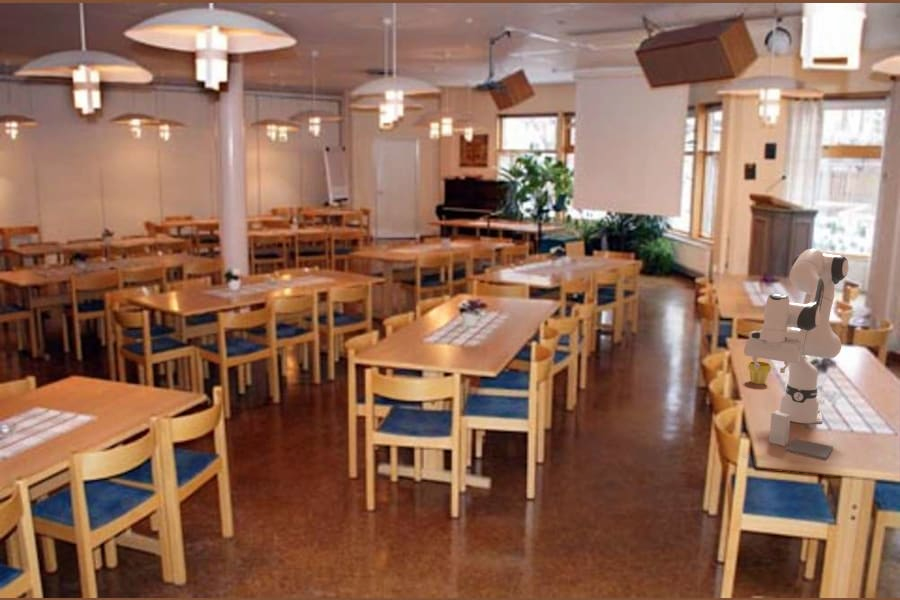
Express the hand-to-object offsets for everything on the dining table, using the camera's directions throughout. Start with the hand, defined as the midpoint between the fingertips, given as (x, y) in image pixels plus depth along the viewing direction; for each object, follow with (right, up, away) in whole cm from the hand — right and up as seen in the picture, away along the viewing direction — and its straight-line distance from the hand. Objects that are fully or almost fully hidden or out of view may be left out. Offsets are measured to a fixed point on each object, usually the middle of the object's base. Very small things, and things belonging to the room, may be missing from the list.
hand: (769, 370), depth 305 cm
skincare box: (+4, -29, +1) cm, 29 cm away
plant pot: (+28, -14, +82) cm, 88 cm away
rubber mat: (+13, -30, -5) cm, 33 cm away
